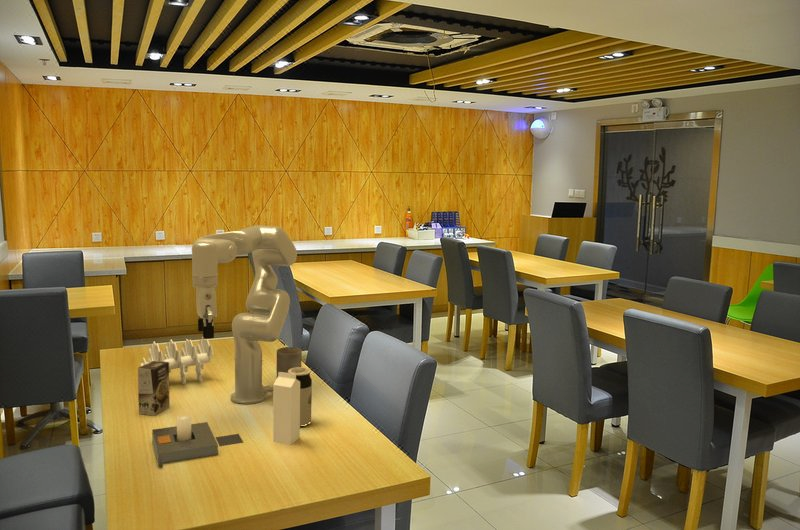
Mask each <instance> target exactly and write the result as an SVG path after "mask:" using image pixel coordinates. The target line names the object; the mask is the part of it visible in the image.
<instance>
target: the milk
mask: <svg viewBox="0 0 800 530" xmlns="http://www.w3.org/2000/svg"><path fill="white" fill-rule="evenodd" d="M272 396H273V397H272V398H273V400H272V401H273V402H272V403H273V405H272V407H273V409H272V412H273V413H272V414H273V415H272V416H273V419H272V423H273V424H272V426H273V427H272V436H273V437H272V442H273V443H279V444H284V445H285V444H286V445H290V446H291V445H292V444H293V443H295V442H296V441H297V440H298V439H300V437H301V436H300V434H301V433H300V431H301V430H300V428H301V427H300V381H298V380H297V379H296V374H291V373H284V372H278V378H277V377H276V380H275V381H274V383H273V392H272Z"/></svg>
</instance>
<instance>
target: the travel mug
mask: <svg viewBox="0 0 800 530" xmlns="http://www.w3.org/2000/svg"><path fill="white" fill-rule="evenodd" d="M288 373H291V374H296V379H297V380H298V381H300V426H301V425H305V424H308V423H309V422H311V423H312V403H313V401H312V400H313V399H312V398H313V397H312V394H313V393H312V392H313V391H312V388H313V386H312V385H313V379H312V378H311V373H312V370H311V369H310V368H307V367H304V366H303V367H302V366H301V367H296V368H291V369H289V370H288Z"/></svg>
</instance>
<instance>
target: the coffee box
mask: <svg viewBox="0 0 800 530" xmlns="http://www.w3.org/2000/svg"><path fill="white" fill-rule="evenodd" d="M147 363H148V362H147ZM137 383H138V384H137V385H138V386H137V387H138V388H137V389H138V391H137V393H138V394H137V395H138V400H137V402H138V415H145V414H146V416H147V415H148V416H153V417H154V416H156V415H158V414H160V413H162V412H163V411H164V410H167V409H168V408H170V404H171V403H170V373H169V362H161V361H152V362H150V363H148V364H145V365H143V366H141V367H140V366H139V367H138V368H137Z"/></svg>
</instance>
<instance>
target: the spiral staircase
mask: <svg viewBox="0 0 800 530" xmlns="http://www.w3.org/2000/svg"><path fill="white" fill-rule="evenodd" d="M182 346H183V347H181V349H180V350H181V351H180V350H179V349H178V346H177V343H176V341H173V340H172V339H169V341H168V342H166V345H165V351H164V352H165V353H163V350H161V349H160V346H159V343H158V342H157V343H156V341H153V343H152V344H151V345H150V346H149V347H150V348H149V349H148V357H147V361H146V358H145V357H142V362H141V363H140V365H139V367H141V366H143V365H145V364H148V363H150V362H152V361H161V362H169V374H170V373H171V372H172V371H171V370H174V369H179V370H180V371H179V374H180V378H181V382H182V384H183V386H186V383H187V381H186V380H187V379H186V372H188V368H189V367H193V366H195V373H196V376H197V377H196V378H197V379H198V382H199V383H202V382H203V376H202V375H203V372H202V370H204V364H209V363H211V358H212V357H214V356H215V354H214V348H213V344H210V342H209V339H204V338H203V336H202V337H201V339H200V340H199V341H198V344H197V347H196V345H194V344H193V342H192V339H188V338H186V339H185V341H184V342H183V344H182Z"/></svg>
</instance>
